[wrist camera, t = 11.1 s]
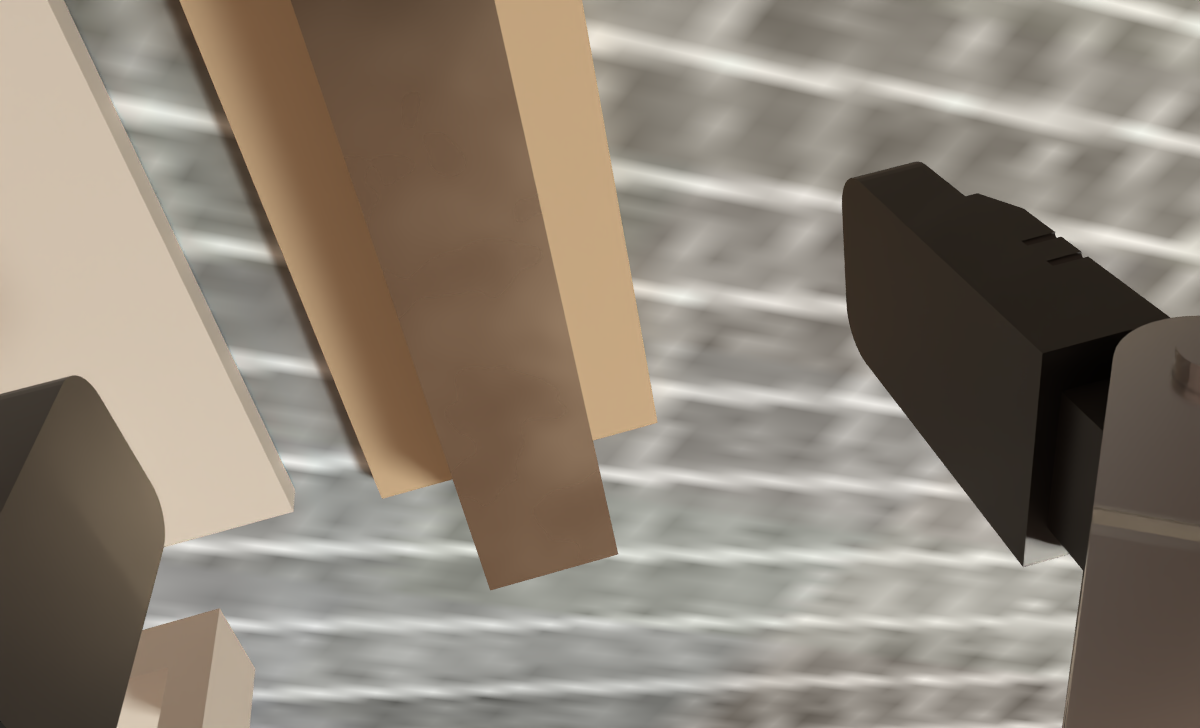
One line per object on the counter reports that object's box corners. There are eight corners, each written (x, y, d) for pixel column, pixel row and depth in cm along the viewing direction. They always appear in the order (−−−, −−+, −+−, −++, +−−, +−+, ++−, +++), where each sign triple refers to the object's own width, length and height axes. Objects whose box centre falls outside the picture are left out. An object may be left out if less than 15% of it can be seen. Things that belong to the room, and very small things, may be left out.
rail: (294, -822, 12) (281, -957, 10) (591, 472, 25) (618, 554, 22) (55, -783, 12) (-19, -912, 10) (475, 504, 25) (490, 590, 22)
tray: (447, -715, 14) (450, -731, 13) (651, 409, 25) (657, 422, 24) (-65, -624, 13) (-80, -638, 13) (381, 483, 24) (381, 498, 24)
